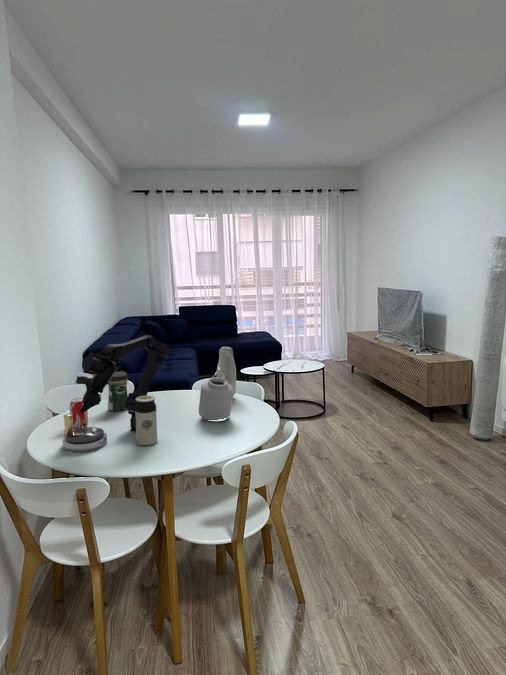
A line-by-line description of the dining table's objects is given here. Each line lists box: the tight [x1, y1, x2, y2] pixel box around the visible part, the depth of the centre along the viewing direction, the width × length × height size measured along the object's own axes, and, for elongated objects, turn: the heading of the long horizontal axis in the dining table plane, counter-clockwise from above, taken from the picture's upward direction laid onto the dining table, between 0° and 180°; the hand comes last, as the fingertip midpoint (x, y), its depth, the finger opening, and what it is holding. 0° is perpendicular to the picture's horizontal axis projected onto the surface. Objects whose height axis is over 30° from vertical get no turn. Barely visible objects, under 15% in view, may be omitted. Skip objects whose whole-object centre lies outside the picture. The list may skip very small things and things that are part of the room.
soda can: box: [69, 397, 89, 429], centre depth 189 cm, size 7×7×12 cm
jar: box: [198, 369, 234, 421], centre depth 198 cm, size 19×15×25 cm
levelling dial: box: [63, 413, 105, 444], centre depth 169 cm, size 14×14×10 cm
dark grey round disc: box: [62, 432, 108, 454], centre depth 170 cm, size 16×16×3 cm
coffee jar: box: [107, 370, 129, 412], centre depth 214 cm, size 10×8×19 cm
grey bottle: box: [216, 346, 237, 396], centre depth 234 cm, size 10×10×28 cm
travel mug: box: [135, 395, 158, 446], centre depth 171 cm, size 8×8×18 cm
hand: (82, 407), depth 172 cm, fingers open, 9 cm apart
